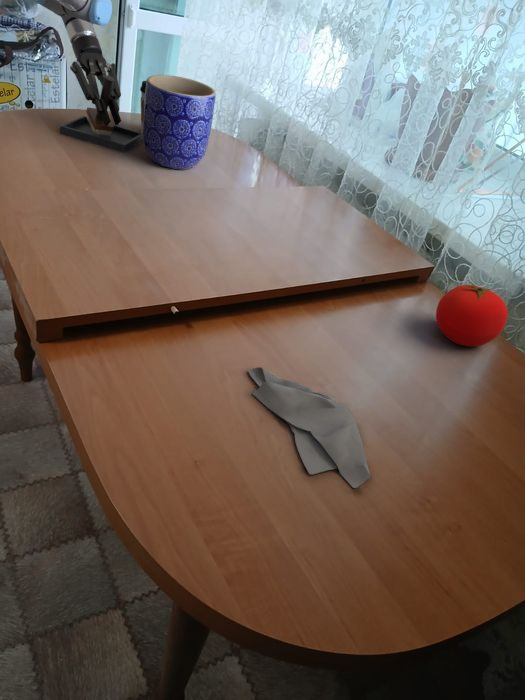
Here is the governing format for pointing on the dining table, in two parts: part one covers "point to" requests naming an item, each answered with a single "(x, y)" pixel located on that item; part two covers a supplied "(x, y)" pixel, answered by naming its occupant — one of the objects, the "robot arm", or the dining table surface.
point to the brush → (95, 117)
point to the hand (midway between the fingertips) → (113, 123)
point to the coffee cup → (142, 102)
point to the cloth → (316, 426)
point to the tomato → (471, 315)
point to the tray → (118, 140)
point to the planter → (177, 120)
